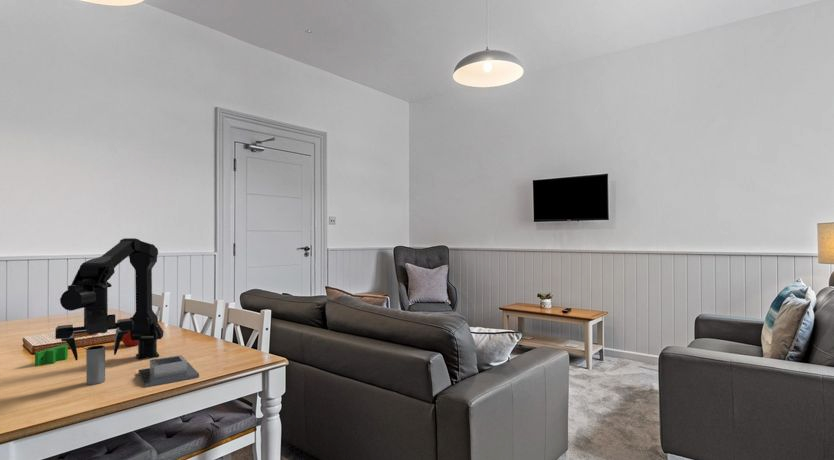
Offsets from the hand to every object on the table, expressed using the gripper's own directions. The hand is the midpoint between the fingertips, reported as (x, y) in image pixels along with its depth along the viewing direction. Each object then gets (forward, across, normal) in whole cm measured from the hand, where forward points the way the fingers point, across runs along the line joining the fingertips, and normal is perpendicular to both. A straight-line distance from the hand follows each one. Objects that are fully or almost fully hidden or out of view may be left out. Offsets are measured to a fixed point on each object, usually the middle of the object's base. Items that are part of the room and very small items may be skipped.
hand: (96, 357), depth 134 cm
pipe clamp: (+8, -10, +35) cm, 37 cm away
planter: (+8, 0, 0) cm, 8 cm away
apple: (+8, +14, +44) cm, 47 cm away
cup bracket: (+7, +18, -6) cm, 20 cm away
